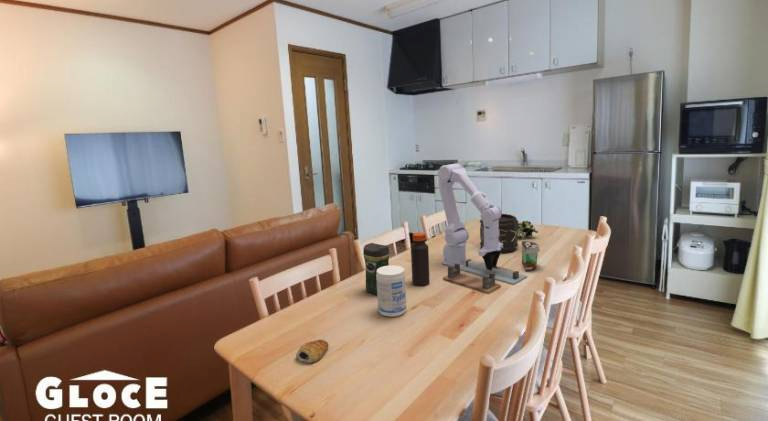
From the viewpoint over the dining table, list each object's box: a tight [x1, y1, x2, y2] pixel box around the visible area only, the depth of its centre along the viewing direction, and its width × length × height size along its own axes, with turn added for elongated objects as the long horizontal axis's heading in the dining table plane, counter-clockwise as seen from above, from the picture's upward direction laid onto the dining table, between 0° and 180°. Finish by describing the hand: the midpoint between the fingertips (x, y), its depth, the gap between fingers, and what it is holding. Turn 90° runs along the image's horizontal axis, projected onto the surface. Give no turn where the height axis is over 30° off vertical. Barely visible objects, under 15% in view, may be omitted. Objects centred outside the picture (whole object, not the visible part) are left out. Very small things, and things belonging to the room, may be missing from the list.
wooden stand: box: [442, 263, 501, 295], centre depth 150 cm, size 21×8×6 cm, turn 42°
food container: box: [521, 240, 541, 272], centre depth 162 cm, size 12×6×10 cm, turn 168°
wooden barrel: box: [479, 213, 520, 254], centre depth 188 cm, size 18×18×16 cm
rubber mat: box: [460, 265, 528, 286], centre depth 159 cm, size 26×10×1 cm, turn 42°
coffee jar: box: [362, 242, 390, 295], centre depth 146 cm, size 10×8×19 cm
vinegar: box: [410, 232, 430, 287], centre depth 151 cm, size 7×7×20 cm
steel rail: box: [466, 259, 520, 280], centre depth 159 cm, size 23×2×2 cm, turn 42°
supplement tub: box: [376, 264, 407, 318], centre depth 130 cm, size 10×10×15 cm
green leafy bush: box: [518, 220, 539, 240], centre depth 204 cm, size 11×11×12 cm
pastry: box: [295, 339, 329, 364], centre depth 108 cm, size 9×7×4 cm
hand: (491, 268), depth 159 cm, fingers closed on steel rail, 2 cm apart
